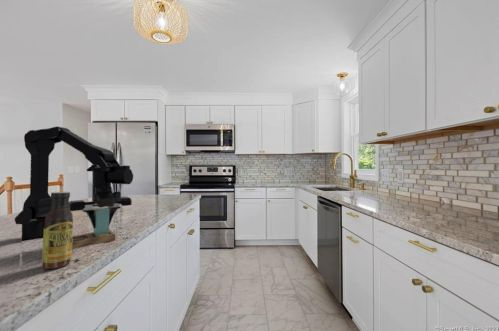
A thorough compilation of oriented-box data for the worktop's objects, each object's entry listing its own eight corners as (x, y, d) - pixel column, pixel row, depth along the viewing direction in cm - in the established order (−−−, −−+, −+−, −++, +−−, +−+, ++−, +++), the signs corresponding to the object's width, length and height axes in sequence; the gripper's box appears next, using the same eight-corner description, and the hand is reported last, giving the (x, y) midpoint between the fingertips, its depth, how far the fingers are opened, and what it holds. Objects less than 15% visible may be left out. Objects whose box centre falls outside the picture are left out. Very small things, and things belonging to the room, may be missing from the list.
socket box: (65, 250, 73) (66, 241, 73) (62, 244, 79) (63, 236, 79) (115, 241, 83) (115, 233, 83) (109, 236, 89) (109, 228, 89)
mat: (84, 238, 85) (84, 237, 85) (81, 234, 90) (81, 233, 90) (106, 235, 90) (106, 234, 90) (101, 231, 95) (101, 230, 95)
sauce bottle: (46, 272, 58) (47, 194, 58) (37, 267, 62) (38, 192, 62) (77, 263, 64) (77, 191, 64) (67, 258, 67) (68, 190, 67)
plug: (96, 236, 81) (96, 210, 81) (93, 234, 84) (93, 209, 84) (109, 234, 84) (109, 209, 84) (106, 232, 86) (106, 208, 86)
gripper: (73, 186, 71) (72, 237, 71) (136, 184, 84) (136, 226, 84) (68, 184, 79) (67, 230, 79) (127, 182, 92) (126, 221, 92)
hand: (101, 227), depth 84 cm, fingers closed on plug, 4 cm apart
